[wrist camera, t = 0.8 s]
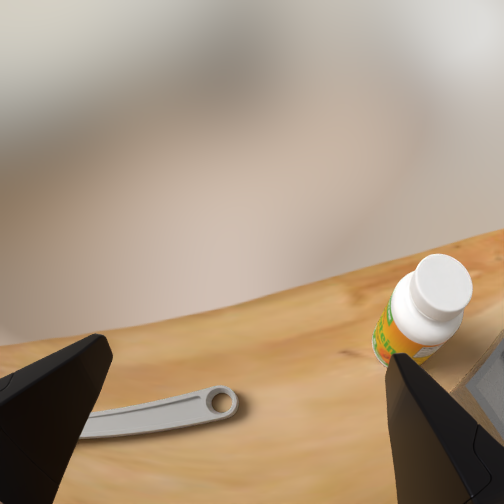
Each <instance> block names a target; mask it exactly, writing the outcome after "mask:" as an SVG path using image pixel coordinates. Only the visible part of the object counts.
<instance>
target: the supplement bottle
mask: <svg viewBox="0 0 504 504" xmlns="http://www.w3.org/2000/svg"><path fill="white" fill-rule="evenodd" d="M472 290H473V287H472V281H471V278H470V275H469V273H468V271H467V270H466V269H465V267H464V266H463V265H462V264H461V263H460V262H459V261H457V260H456V259H454V258H453V257H450V256H448V255H444V254H432V255H429V256H427V257H425V258H424V259H423V260H422V261H421V262H420V263H419V264H418V266H417V268H416V270H415V271H413V272H411V273H409V274H407V275H406V276H405V277H403V278H402V279H401V280H400V282H399V283H398V284H397V286H396V288H395V289H394V291H393V293H392V295H391V298H390V300H389V302H388V304H387V306H386V307H385V309H384V312H383V314H382V315H381V317H380V319H379V321H378V323H377V325H376V327H375V329H374V332H373V336H372V346H373V350H374V353H375V355H376V357H377V359H378V360H379V361H380V362H381V363H382V364H383V365H384V366H385V367H387V368H388V364H389V361H390V358H391V355H392V354H394V353H406V354H408V355H409V356H410V357H411V358H412V359H413V360H414V361H415V362H416V363H417V364H418V365H421V364H422V363H423V362H424V361H426V360H427V359H428V358H429V357H430V356H431V355H432V354H434V353H435V352H436V351H437V350H438V349H439V348H440V347H441V346H442V345H443V344H444V343H445V342H447V341H448V340H449V339H450V338H451V337H452V336H453V335H454V333H455V332H456V331H457V330H458V328H459V326H460V324H461V322H462V318H463V313H464V308H465V307H466V306H467V304H468V303H469V301H470V299H471V296H472Z"/></svg>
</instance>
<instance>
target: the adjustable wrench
mask: <svg viewBox="0 0 504 504" xmlns="http://www.w3.org/2000/svg"><path fill="white" fill-rule="evenodd" d="M218 393H226V394H228V395H229V396H230V397H231V399H232V406H231V408H230V409H229V410H228V411H226V412H223V413H220V412H217V411H215V410H214V409H213V407H212V403H211V402H212V399H213V397H214V396H215V395H216V394H218ZM238 406H239V400H238V397H237V395H236V394H235V393H234V392H233V391H232V390H231V389H230V388H228V387H226V386H222V385H219V386H213V387H210V388H206V389H202V390H199V391H195V392H191V393H187V394H183V395H179V396H175V397H171V398H166V399H162V400H157V401H153V402H148V403H143V404H138V405H133V406H128V407H123V408H117V409H111V410H105V411H99V412H92V413H90V416H89V418H88V420H87V422H86V424H85V426H84V429H83V431H82V433H81V435H80V437H79V439H91V438H106V437H118V436H128V435H137V434H145V433H152V432H159V431H166V430H172V429H178V428H183V427H189V426H194V425H199V424H204V423H208V422H213V421H217V420H222V419H226V418H229V417H231V416H233V415H234V414H235V413H236V411H237V409H238Z"/></svg>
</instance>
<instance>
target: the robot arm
mask: <svg viewBox="0 0 504 504" xmlns="http://www.w3.org/2000/svg"><path fill="white" fill-rule="evenodd" d="M112 359H113V354H112V351H111V348H110V346H109V344H108V341H107V339H106V337H105V336H104V335H101V334H92V335H90V336H88V337H86V338H84V339H82V340H79V341H77V342H75V343H73V344H71V345H69V346H67V347H65V348H63V349H61V350H59V351H57V352H55V353H53V354H51V355H49V356H47V357H44V358H42V359H40V360H38V361H36V362H34V363H32V364H30V365H28V366H26V367H24V368H22V369H20V370H18V371H16V372H15V373H11V374H9V375H7V376H5V377H3V378H1V379H0V504H53V501H54V498H55V496H56V493H57V491H58V488H59V485H60V482H61V480H62V477H63V475H64V473H65V470H66V468H67V465H68V463H69V460H70V458H71V456H72V453H73V451H74V449H75V446H76V444H77V442H78V440H79V437H80V435H81V433H82V431H83V429H84V426H85V424H86V422H87V420H88V418H89V416H90V413H91V411H92V409H93V407H94V405H95V403H96V401H97V399H98V396H99V394H100V391H101V389H102V386H103V383H104V381H105V378H106V375H107V373H108V370H109V367H110V365H111V362H112ZM385 384H386V398H387V417H388V429H389V435H390V442H391V449H392V456H393V463H394V471H395V480H396V489H397V500H398V504H504V446H503V445H501V444H500V443H499V442H498V441H497V440H496V439H495V438H494V437H493V436H492V435H491V434H490V433H488V432H487V431H486V430H485V429H484V428H483V427H482V426H481V425H480V424H478V422H477V421H476V420H475V419H474V418H473V417H472V416H471V415H470V414H469V413H468V412H467V411H466V410H465V409H464V408H463V407H462V406H461V405H460V404H459V403H458V402H457V401H456V400H455V399H454V398H453V397H452V396H451V395H450V394H449V393H448V392H447V391H446V390H445V389H444V388H443V387H441V386H440V385H439V384H438V383H437V382H436V381H435V380H434V379H433V378H432V377H431V376H430V375H429V374H428V373H427V372H426V371H425V370H424V369H423V368H422V367H420V366H419V365H418V364H417V363H416V362H415V361H414V360H413V359H412V358H411V357H410V356H409V355H408V354H406V353H394V354H392V355H391V358H390V361H389V364H388V368H387V371H386V376H385Z"/></svg>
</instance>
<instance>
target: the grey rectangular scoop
mask: <svg viewBox="0 0 504 504" xmlns="http://www.w3.org/2000/svg"><path fill="white" fill-rule="evenodd" d="M449 394H450V395H451V396H452V397H453V398H454V399H455V400H456V401H457V402H458V403H459V404H460V405H461V406H462V407H463V408H464V409H465V410H466V411H467V412H468V413H469V414H470V415H471V416H472V417H473V418H474V419H475V420H476V421H477V422H478V424H480V425H481V426H482V427H483V428H484V429H485V430H486V431H487V432H488V433H490V434H491V435H492V436H493V437H494V438H495V439H496V440H497V441H498V442H499V443H500V444H501V445H503V446H504V330H502V332H501V333H500V334H499V336H498V337H497V338H496V340H495V341H494V342H493V344H492V345H491V346H490V348H489V349H488V350H487V351H486V353H485V354H484V355H483V356H482V358H481V359H480V360H479V361H478V362H477V364H476V365H475V366H474V367H473V368H472V369H471V371H470V372H469V373H468V374H467V375H466V376H465V377H464V378H463V380H462V381H461V382H460V383H459V384H458V385H457V386H456V387H455V388H454V389H453V390H452V391H451V392H450V393H449Z"/></svg>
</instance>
